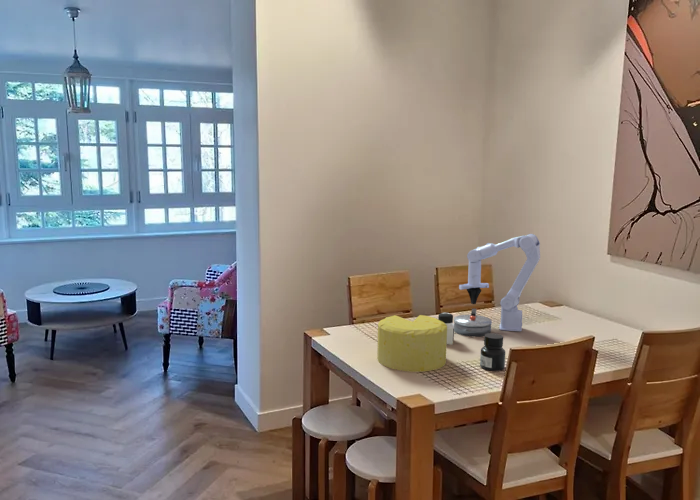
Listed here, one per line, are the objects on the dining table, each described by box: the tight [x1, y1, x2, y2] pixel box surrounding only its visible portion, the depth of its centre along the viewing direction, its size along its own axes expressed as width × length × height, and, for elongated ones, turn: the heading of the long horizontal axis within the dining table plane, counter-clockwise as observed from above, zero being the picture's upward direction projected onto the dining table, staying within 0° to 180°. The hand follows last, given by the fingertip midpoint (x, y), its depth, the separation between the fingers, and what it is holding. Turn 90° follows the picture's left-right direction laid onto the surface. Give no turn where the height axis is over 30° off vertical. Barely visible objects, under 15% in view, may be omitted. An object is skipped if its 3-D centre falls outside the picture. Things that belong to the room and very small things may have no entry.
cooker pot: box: [453, 321, 492, 338], centre depth 269 cm, size 20×16×4 cm
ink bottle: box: [479, 332, 506, 372], centre depth 221 cm, size 10×9×12 cm
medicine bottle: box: [437, 312, 455, 345], centre depth 251 cm, size 7×7×12 cm
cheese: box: [376, 314, 448, 373], centre depth 228 cm, size 26×26×15 cm
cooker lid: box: [453, 308, 493, 327], centre depth 269 cm, size 22×16×3 cm
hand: (473, 303), depth 279 cm, fingers closed
